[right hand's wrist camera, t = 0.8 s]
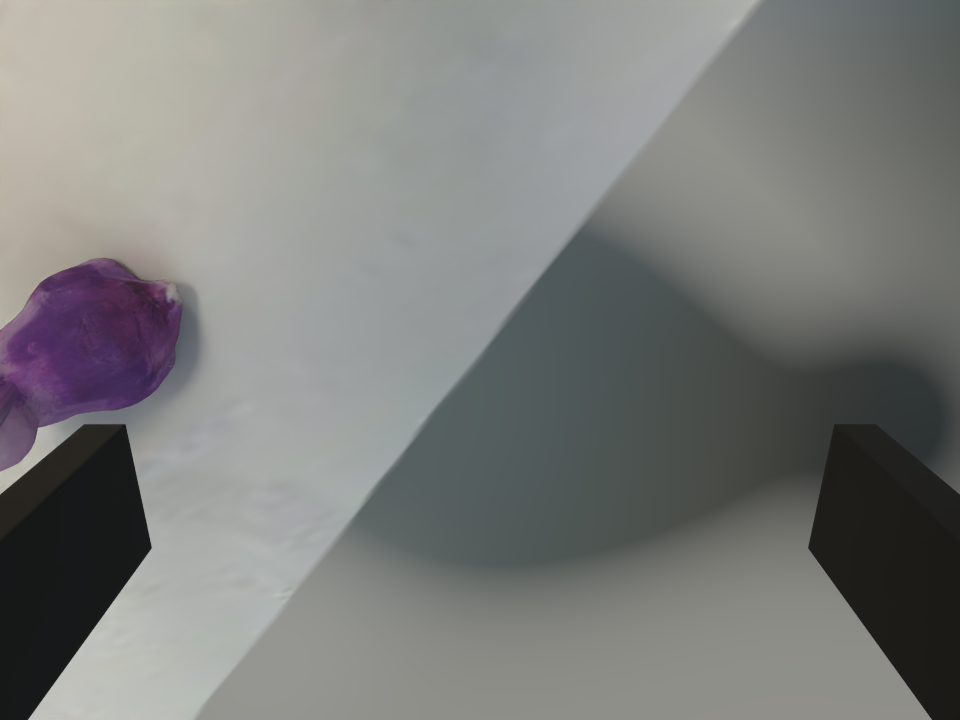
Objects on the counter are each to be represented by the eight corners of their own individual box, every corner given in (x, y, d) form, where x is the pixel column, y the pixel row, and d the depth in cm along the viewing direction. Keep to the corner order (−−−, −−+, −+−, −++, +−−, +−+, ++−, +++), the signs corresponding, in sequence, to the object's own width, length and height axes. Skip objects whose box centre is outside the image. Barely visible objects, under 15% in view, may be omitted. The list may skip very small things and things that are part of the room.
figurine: (32, 395, 43) (-186, 542, 29) (31, 237, 39) (-220, 317, 25) (184, 426, 43) (43, 584, 29) (196, 274, 40) (43, 371, 26)
